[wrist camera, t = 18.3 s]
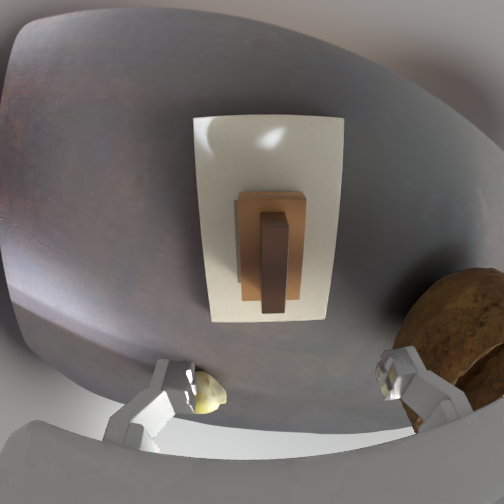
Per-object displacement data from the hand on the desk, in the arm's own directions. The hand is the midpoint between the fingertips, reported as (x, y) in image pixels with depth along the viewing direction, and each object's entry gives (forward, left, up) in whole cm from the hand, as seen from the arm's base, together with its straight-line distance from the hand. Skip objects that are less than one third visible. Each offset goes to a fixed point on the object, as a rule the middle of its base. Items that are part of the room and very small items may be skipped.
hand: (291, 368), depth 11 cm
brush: (+1, 0, -15) cm, 15 cm away
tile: (0, 0, -16) cm, 16 cm away
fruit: (+22, -10, -17) cm, 29 cm away
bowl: (+11, +22, -17) cm, 30 cm away
